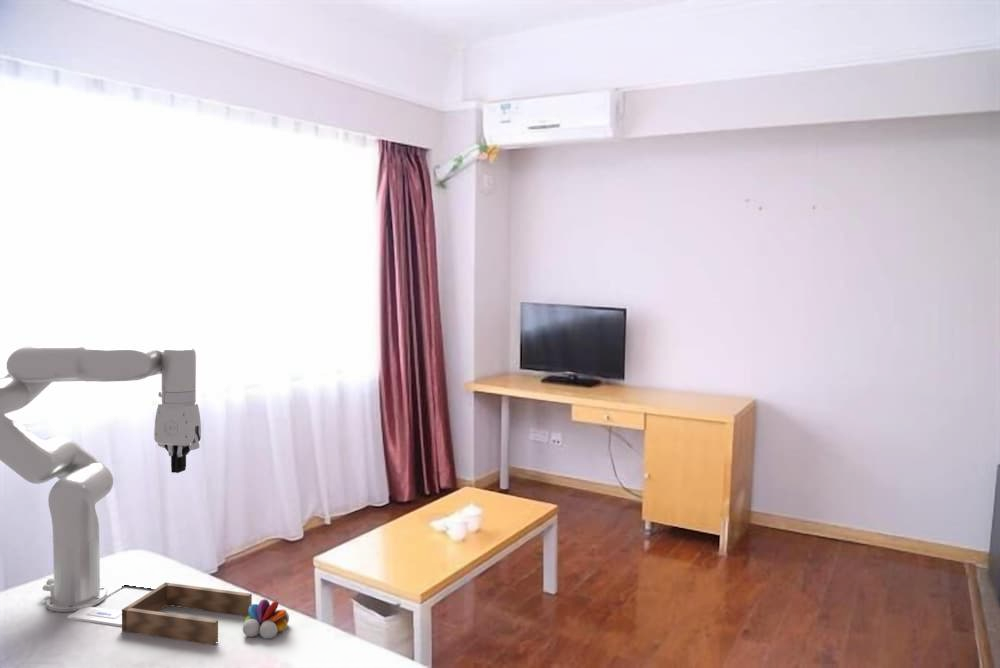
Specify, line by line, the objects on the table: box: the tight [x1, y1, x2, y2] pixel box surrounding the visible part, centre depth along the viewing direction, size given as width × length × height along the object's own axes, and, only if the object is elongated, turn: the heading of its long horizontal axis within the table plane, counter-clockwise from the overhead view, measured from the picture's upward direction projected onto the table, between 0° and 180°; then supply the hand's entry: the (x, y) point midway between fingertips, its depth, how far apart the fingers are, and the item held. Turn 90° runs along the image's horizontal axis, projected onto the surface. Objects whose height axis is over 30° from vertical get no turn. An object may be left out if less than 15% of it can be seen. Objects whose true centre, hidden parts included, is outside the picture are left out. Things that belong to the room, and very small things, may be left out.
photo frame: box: [66, 583, 157, 628], centre depth 164 cm, size 15×1×18 cm
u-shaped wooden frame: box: [121, 582, 253, 645], centre depth 156 cm, size 23×14×5 cm, turn 79°
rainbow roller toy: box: [242, 599, 290, 640], centre depth 153 cm, size 8×10×7 cm
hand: (178, 471), depth 166 cm, fingers closed
